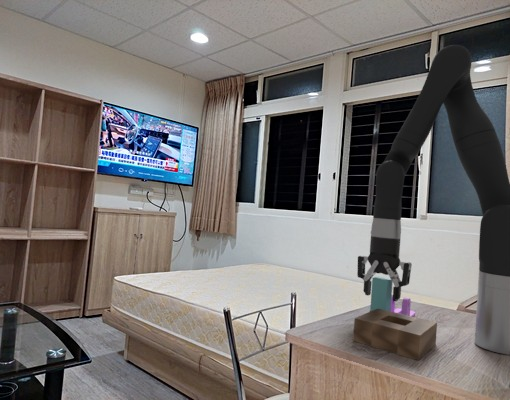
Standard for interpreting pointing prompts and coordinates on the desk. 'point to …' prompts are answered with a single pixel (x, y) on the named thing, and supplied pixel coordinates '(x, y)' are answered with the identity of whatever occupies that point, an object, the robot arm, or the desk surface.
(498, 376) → the desk surface
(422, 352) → the socket block
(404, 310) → the bracket
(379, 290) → the peg
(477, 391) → the desk surface
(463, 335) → the desk surface
